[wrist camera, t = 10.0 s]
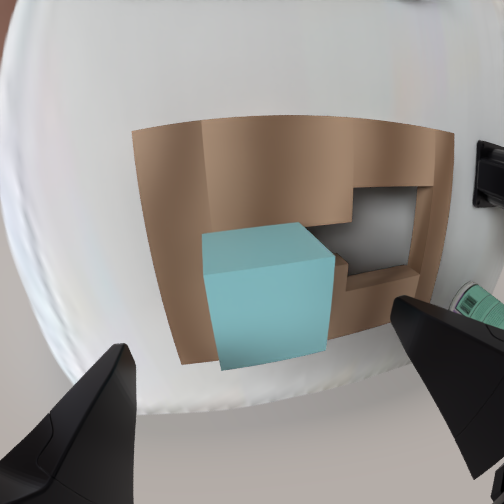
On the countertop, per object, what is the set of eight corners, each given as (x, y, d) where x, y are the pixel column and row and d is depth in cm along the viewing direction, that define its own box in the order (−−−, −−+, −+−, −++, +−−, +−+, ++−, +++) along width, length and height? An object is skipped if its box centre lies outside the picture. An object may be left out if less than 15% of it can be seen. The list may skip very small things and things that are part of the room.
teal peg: (268, 195, 16) (335, 256, 8) (271, 255, 18) (325, 350, 10) (201, 202, 16) (203, 275, 8) (209, 264, 18) (221, 370, 9)
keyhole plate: (415, 129, 16) (454, 133, 13) (399, 285, 21) (427, 309, 18) (148, 132, 14) (131, 131, 10) (182, 325, 19) (181, 364, 15)
